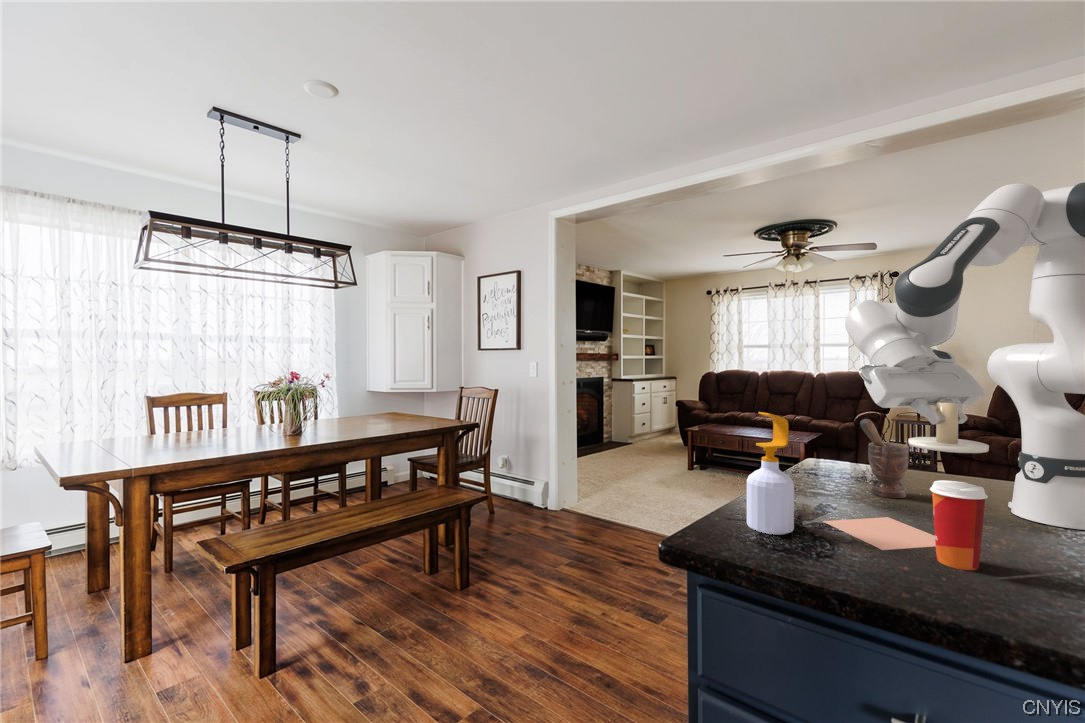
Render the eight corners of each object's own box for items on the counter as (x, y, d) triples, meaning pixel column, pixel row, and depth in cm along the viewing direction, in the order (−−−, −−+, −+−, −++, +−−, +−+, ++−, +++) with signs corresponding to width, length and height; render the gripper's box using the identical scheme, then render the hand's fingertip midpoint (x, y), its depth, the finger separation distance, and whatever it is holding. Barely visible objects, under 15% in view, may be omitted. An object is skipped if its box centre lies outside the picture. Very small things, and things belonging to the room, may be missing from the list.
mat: (887, 518, 110) (887, 517, 110) (957, 546, 94) (957, 544, 94) (822, 522, 108) (822, 521, 108) (882, 552, 92) (882, 549, 92)
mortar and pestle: (890, 503, 121) (890, 422, 121) (854, 494, 129) (854, 418, 128) (915, 496, 127) (915, 419, 126) (879, 488, 134) (879, 415, 134)
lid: (943, 440, 94) (944, 399, 94) (1006, 451, 83) (1007, 405, 83) (893, 442, 92) (893, 400, 92) (950, 454, 81) (950, 407, 81)
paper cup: (958, 555, 90) (959, 479, 90) (999, 574, 82) (1000, 490, 82) (917, 556, 90) (918, 479, 89) (955, 575, 82) (955, 491, 82)
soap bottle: (737, 522, 108) (737, 410, 108) (773, 519, 110) (773, 409, 110) (766, 537, 99) (766, 415, 99) (803, 533, 102) (804, 414, 101)
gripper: (863, 354, 93) (909, 412, 83) (959, 353, 95) (1013, 409, 86) (846, 376, 97) (887, 434, 88) (938, 375, 100) (987, 430, 90)
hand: (950, 422), depth 87 cm, fingers closed on lid, 3 cm apart
